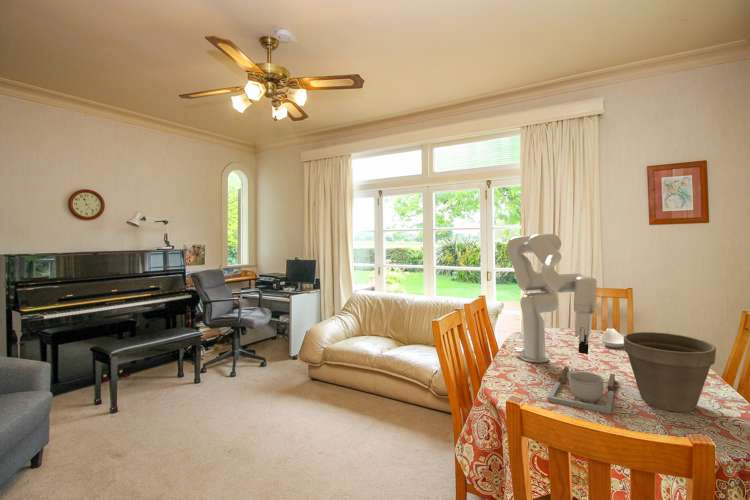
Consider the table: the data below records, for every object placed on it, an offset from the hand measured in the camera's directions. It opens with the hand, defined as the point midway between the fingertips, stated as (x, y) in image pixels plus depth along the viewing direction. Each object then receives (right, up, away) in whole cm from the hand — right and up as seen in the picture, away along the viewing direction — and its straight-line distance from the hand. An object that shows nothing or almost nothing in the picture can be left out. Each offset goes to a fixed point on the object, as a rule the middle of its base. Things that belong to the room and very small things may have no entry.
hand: (583, 352), depth 149 cm
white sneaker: (+45, -10, +52) cm, 69 cm away
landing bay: (-9, -12, -15) cm, 21 cm away
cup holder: (+1, -12, 0) cm, 12 cm away
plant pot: (+17, -12, -21) cm, 30 cm away
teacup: (-8, -12, -14) cm, 20 cm away
